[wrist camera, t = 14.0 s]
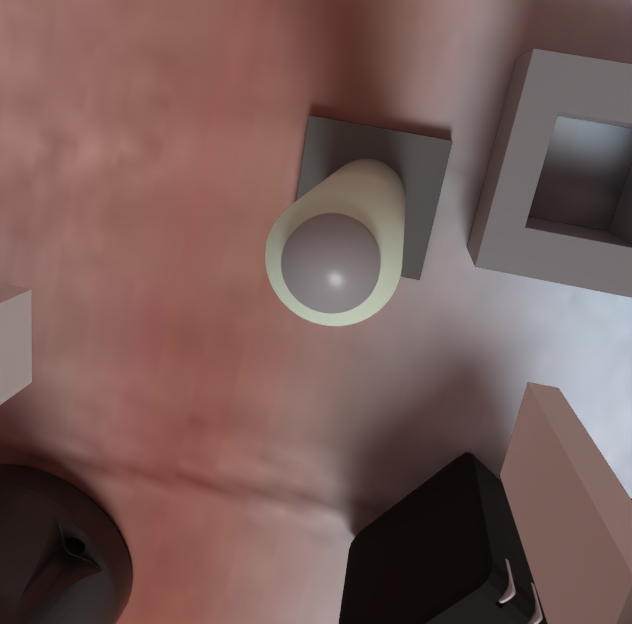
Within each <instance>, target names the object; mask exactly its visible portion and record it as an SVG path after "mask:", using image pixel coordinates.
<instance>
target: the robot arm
mask: <svg viewBox="0 0 632 624" xmlns="http://www.w3.org/2000/svg"><path fill="white" fill-rule="evenodd" d="M30 383H32V311H31V289H27V288H22V287H16V286H11V285H6V284H3V285H1V286H0V405H1V404H2V403H4V402H5V401H7V400H8V399H9V398H11V397H12V396H14V395H15V394H16V393H18V392H19V391H21V390H22V389H23V388H25V387H26V386H28V385H29V384H30ZM500 477H501V480H502V483H503V486H504V489H505V492H506V495H507V499H508V502H509V505H510V508H511V511H512V514H513V517H514V520H515V524H516V527H517V530H518V533H519V536H520V539H521V542H522V545H523V549H524V552H525V555H526V558H527V561H528V564H529V567H530V570H531V574H532V577H533V580H534V583H535V586H536V589H537V592H538V595H539V599H540V602H541V605H542V608H543V611H544V614H545V617H546V620H547V624H632V499H631V498H630V497H629V495H628V494H627V492H626V491H625V489H624V488H623V486H622V484H621V483H620V481H619V480H618V478H617V477H616V475H615V474H614V472H613V471H612V469H611V468H610V466H609V465H608V463H607V461H606V460H605V458H604V457H603V455H602V454H601V452H600V451H599V449H598V448H597V446H596V445H595V443H594V442H593V440H592V438H591V437H590V435H589V434H588V432H587V431H586V429H585V428H584V426H583V425H582V423H581V422H580V420H579V419H578V417H577V415H576V414H575V412H574V411H573V409H572V408H571V406H570V405H569V403H568V402H567V400H566V399H565V397H564V396H563V394H562V392H561V391H560V389H559V388H556V387H551V386H545V385H540V384H535V383H529V382H528V383H527V386H526V390H525V393H524V396H523V400H522V403H521V406H520V410H519V413H518V416H517V420H516V423H515V426H514V430H513V433H512V436H511V440H510V443H509V446H508V450H507V453H506V457H505V460H504V463H503V467H502V470H501V473H500ZM131 589H132V569H131V563H130V559H129V555H128V552H127V549H126V547H125V544H124V542H123V540H122V538H121V536H120V535H119V533H118V531H117V529H116V528H115V526H114V525H113V523H112V522H111V521H110V520H109V518H108V517H107V516H106V515H105V514H104V512H103V511H102V510H101V509H100V508H99V507H98V506H97V505H96V504H95V503H94V502H93V501H92V500H90V499H89V498H88V497H87V496H86V495H84V494H83V493H82V492H80V491H79V490H77V489H76V488H74V487H73V486H71V485H70V484H68V483H66V482H64V481H63V480H61V479H59V478H56V477H54V476H52V475H50V474H47V473H45V472H42V471H39V470H35V469H32V468H27V467H22V466H15V465H0V624H116V623H117V621H118V619H119V617H120V616H121V614H122V612H123V611H124V609H125V607H126V605H127V603H128V600H129V597H130V594H131Z"/></svg>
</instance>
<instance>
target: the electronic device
mask: <svg viewBox="0 0 632 624" xmlns="http://www.w3.org/2000/svg"><path fill="white" fill-rule="evenodd" d="M339 624H547V620H546V617H545V614H544V611H543V608H542V605H541V602H540V599H539V595H538V592H537V589H536V586H535V583H534V580H533V577H532V574H531V570H530V567H529V564H528V561H527V558H526V555H525V552H524V549H523V545H522V542H521V539H520V536H519V533H518V530H517V527H516V524H515V520H514V517H513V514H512V511H511V508H510V505H509V502H508V499H507V495H506V492H505V489H504V486H503V483H502V482H501V481H500V480H499V479H498V478H497V477H496V476H495V475H494V474H493V473H492V472H491V471H489V470H488V469H487V468H486V467H485V466H484V465H483V464H482V463H481V462H480V461H479V460H478V459H477V458H476V457H475V456H474V455H473V454H471V453H465V454H463V455H461V456H459V457H458V458H456V459H455V460H454V461H453V462H451V463H450V464H449V465H447V466H446V467H445V468H443V469H442V470H441V471H439V472H438V473H437V474H436V475H434V476H433V477H432V478H430V479H429V480H428V481H426V482H425V483H424V484H422V485H421V486H420V487H418V488H417V489H416V490H415V491H413V492H412V493H411V494H409V495H408V496H407V497H405V498H404V499H403V500H401V501H400V502H399V503H397V504H396V505H395V506H394V507H392V508H391V509H390V510H388V511H387V512H386V513H384V514H383V515H382V516H380V517H379V518H378V519H376V520H375V521H374V522H373V523H371V524H370V525H369V526H367V527H366V528H365V529H363V530H362V531H361V532H360V533H359V534H358V535H357V536H356V537H355V538H354V540H353V541H352V543H351V546H350V549H349V554H348V561H347V568H346V576H345V583H344V590H343V597H342V604H341V611H340V618H339Z"/></svg>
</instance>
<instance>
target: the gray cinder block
mask: <svg viewBox="0 0 632 624" xmlns="http://www.w3.org/2000/svg"><path fill="white" fill-rule="evenodd" d="M557 116H563V117H569V118H574V119H580V120H586V121H592V122H598V123H604V124H610V125H615V126H621V127H627V128H632V64H628V63H621V62H615V61H609V60H603V59H597V58H590V57H584V56H578V55H572V54H565V53H559V52H553V51H547V50H540V49H532V50H530V51H528V52H527V53H525V54H523V55H521V56H520V57H518V58H516V61H515V65H514V69H513V73H512V77H511V80H510V84H509V88H508V92H507V96H506V100H505V103H504V107H503V111H502V115H501V119H500V123H499V126H498V130H497V134H496V138H495V142H494V146H493V150H492V153H491V157H490V161H489V165H488V169H487V173H486V176H485V180H484V184H483V188H482V192H481V196H480V199H479V203H478V207H477V211H476V215H475V219H474V222H473V226H472V230H471V234H470V238H469V242H468V245H467V249H468V252H469V254H470V256H471V258H472V261H473V263H474V265H475V267H479V268H484V269H489V270H494V271H500V272H505V273H510V274H515V275H520V276H525V277H530V278H535V279H540V280H545V281H550V282H555V283H561V284H566V285H571V286H576V287H581V288H586V289H591V290H596V291H601V292H606V293H611V294H616V295H621V296H627V297H632V165H631V167H630V170H629V173H628V176H627V179H626V182H625V185H624V188H623V191H622V194H621V197H620V199H619V202H618V205H617V208H616V211H615V214H614V217H613V220H612V223H611V226H610V229H609V232H607V231H602V230H596V229H591V228H586V227H580V226H575V225H570V224H564V223H559V222H554V221H548V220H543V219H538V218H532V217H528V215H529V211H530V208H531V204H532V201H533V198H534V194H535V191H536V187H537V184H538V180H539V177H540V174H541V170H542V167H543V163H544V160H545V157H546V153H547V150H548V146H549V143H550V139H551V136H552V133H553V129H554V126H555V122H556V119H557Z"/></svg>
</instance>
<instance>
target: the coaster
mask: <svg viewBox="0 0 632 624" xmlns="http://www.w3.org/2000/svg"><path fill="white" fill-rule="evenodd" d="M451 145H452V140H446V139H441V138H435V137H429V136H424V135H418V134H413V133H407V132H401V131H396V130H390V129H384V128H379V127H373V126H367V125H362V124H356V123H351V122H345V121H339V120H334V119H328V118H322V117H317V116H311V115H309V119H308V126H307V133H306V139H305V146H304V152H303V159H302V166H301V172H300V179H299V185H298V192H297V198H296V201H297V200H298V199H299V198H301V197H302V196H303V195H305V194H306V193H307V192H309V191H310V190H311V189H313V188H314V187H315V186H317V185H318V184H320V183H321V182H322V181H324V180H325V179H326V178H328V177H329V176H330V175H332V174H333V173H334V172H336V171H337V170H338V169H340V168H341V167H342V166H344V165H345V164H347V163H349V162H351V161H354V160H358V159H375V160H379V161H381V162H384V163H385V164H387V165H389V166H390V167H391V168H393V169H394V170H395V171H396V173H397V174H398V175H399V177H400V178H401V180H402V182H403V185H404V188H405V193H406V208H405V225H404V242H403V259H402V270H401V275H400V276H402V277H407V278H412V279H417V280H420V276H421V272H422V268H423V264H424V259H425V255H426V251H427V247H428V242H429V238H430V234H431V230H432V225H433V221H434V217H435V213H436V208H437V204H438V200H439V196H440V192H441V187H442V183H443V179H444V175H445V170H446V166H447V162H448V158H449V153H450V149H451Z"/></svg>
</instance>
